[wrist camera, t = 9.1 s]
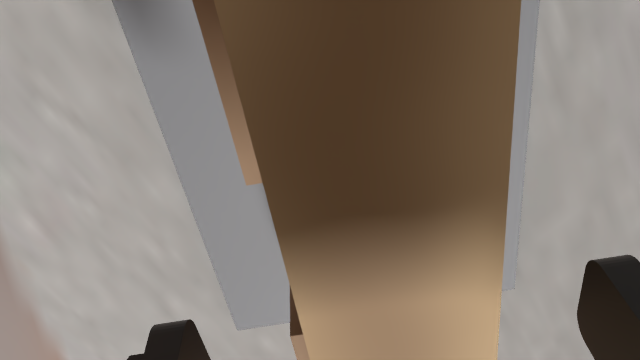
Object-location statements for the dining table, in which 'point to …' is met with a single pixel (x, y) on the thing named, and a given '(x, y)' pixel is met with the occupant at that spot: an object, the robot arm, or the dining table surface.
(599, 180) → the dining table surface
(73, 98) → the dining table surface
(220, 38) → the pillar
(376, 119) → the plank
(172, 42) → the board
